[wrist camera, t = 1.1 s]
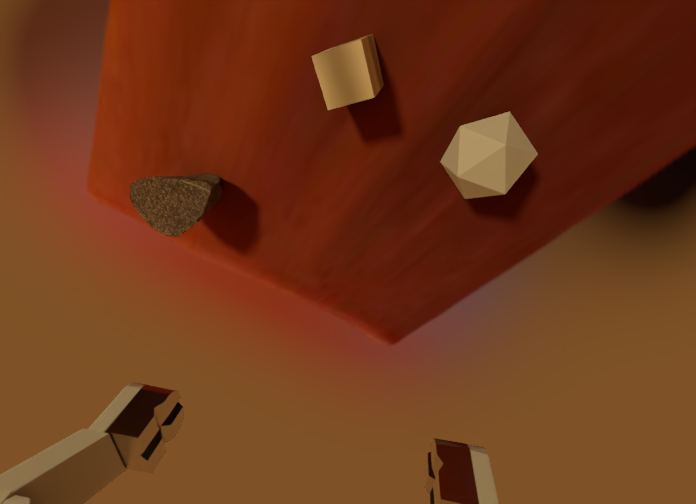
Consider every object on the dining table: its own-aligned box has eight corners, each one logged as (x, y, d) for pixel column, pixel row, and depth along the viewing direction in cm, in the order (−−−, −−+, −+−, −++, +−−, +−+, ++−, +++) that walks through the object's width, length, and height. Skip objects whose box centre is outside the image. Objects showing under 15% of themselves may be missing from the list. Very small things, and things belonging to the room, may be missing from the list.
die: (430, 161, 41) (458, 225, 37) (436, 105, 34) (473, 179, 30) (494, 142, 41) (530, 206, 37) (516, 82, 33) (564, 153, 29)
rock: (208, 156, 43) (215, 231, 43) (239, 173, 53) (244, 233, 53) (121, 167, 44) (128, 239, 44) (167, 182, 54) (173, 241, 54)
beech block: (373, 33, 34) (360, 39, 30) (384, 85, 37) (374, 97, 32) (329, 48, 36) (311, 56, 32) (342, 96, 39) (328, 110, 34)
